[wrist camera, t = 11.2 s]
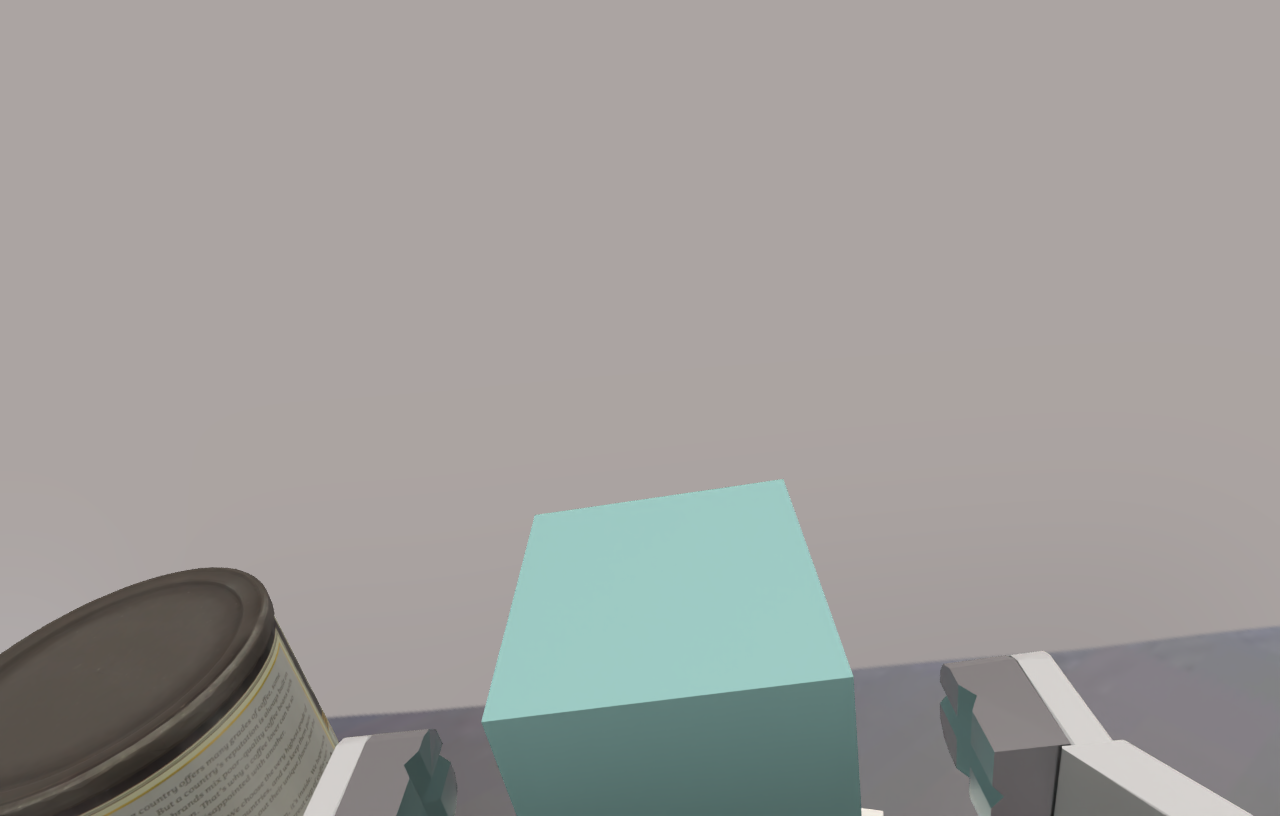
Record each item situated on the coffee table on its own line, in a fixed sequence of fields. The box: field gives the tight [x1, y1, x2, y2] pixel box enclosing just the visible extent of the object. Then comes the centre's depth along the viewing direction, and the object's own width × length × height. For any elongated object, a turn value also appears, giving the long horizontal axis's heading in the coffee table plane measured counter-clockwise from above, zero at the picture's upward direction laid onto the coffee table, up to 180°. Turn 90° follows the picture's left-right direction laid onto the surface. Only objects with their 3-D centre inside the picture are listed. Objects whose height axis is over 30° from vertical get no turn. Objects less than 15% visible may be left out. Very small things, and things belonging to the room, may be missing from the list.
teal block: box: [482, 479, 862, 816], centre depth 12 cm, size 4×4×9 cm
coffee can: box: [0, 567, 339, 816], centre depth 25 cm, size 10×10×14 cm
